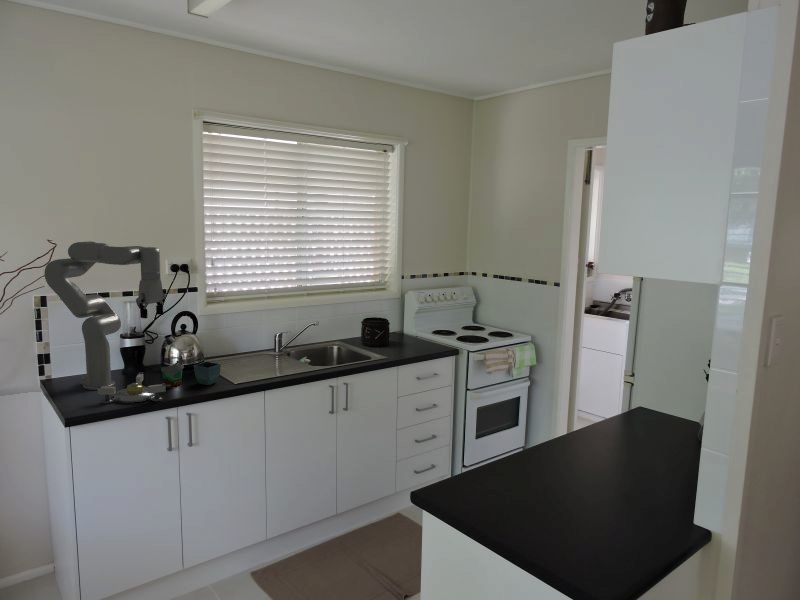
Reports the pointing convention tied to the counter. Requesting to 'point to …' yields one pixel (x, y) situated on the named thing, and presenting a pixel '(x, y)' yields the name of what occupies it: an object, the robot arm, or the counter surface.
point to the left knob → (139, 378)
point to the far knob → (157, 389)
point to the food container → (172, 374)
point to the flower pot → (207, 372)
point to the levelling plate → (132, 395)
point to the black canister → (375, 332)
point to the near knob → (106, 391)
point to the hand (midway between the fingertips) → (152, 316)
